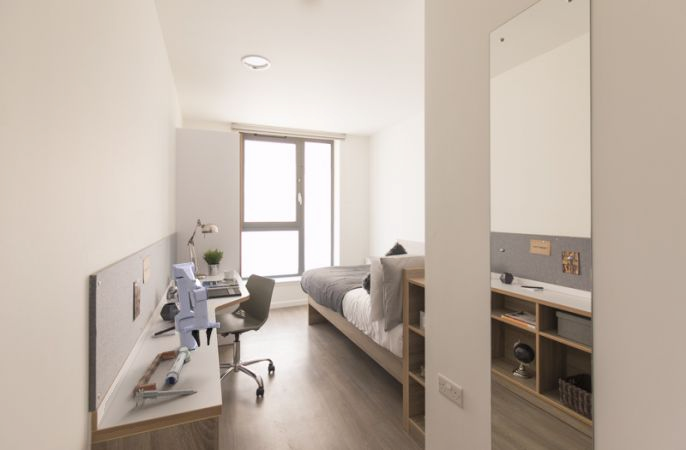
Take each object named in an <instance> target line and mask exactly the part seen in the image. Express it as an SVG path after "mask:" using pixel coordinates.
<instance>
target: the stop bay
mask: <svg viewBox="0 0 686 450" xmlns="http://www.w3.org/2000/svg"><path fill="white" fill-rule="evenodd" d="M176 356H177V354H176V350H175V349H174V350H166V351H162V352H161V353H157V355H156V356H155V357H154V358H153V360H152V361H151V363H150V365H149V366H148V367H147V369H146V370H145V371H144V374H143V375H142V376H141V378H140V379H139V381H137V383H136V385H135V386H134V387H133V396H135V397H136V393H137V392H138V391H139V389H140V391H141V390H142V389H143V393H144V391H156V390H158V389H157V382H152V383H149V381H150V380H151V378H152V376H153V375H154V374H155V372H156V370H158V367H159V365H160V364H161V362H162V361H163V360H168V359H173V358H174V359H175V358H176ZM140 393H141V392H140Z"/></svg>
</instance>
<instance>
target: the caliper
mask: <svg viewBox="0 0 686 450" xmlns="http://www.w3.org/2000/svg"><path fill="white" fill-rule="evenodd" d="M140 392H141V393H140ZM197 392H198V390H197V389H194V388H191V389H190V388H188V389H174V390H173V389H172V390H162V391H161V390H158V389H157V390H156V391H144V393H143V389H142V390H141V391H140V389H139V391H138V392H137V393H136V395H135V398H134V401H135V402H134V403H135V406H136V407H138V406H139V401H140V399H141V406H144V404H145V403H146V401H147V399H150V400H157V399H158V397H168V396H169V397H171V396H179V395H180V396H181V395H182V396H183V395H190V394H194V393H197Z"/></svg>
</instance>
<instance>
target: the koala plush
mask: <svg viewBox="0 0 686 450" xmlns="http://www.w3.org/2000/svg"><path fill="white" fill-rule="evenodd" d="M188 294H189V303H190V310H191V311H193V312H194V310H193V306H192V301H191V297H190V292H189V290H188ZM174 298H175V299H174V300H175V301H176V302H177V303H178V304H179V296H178V292H176V293H174ZM179 312H180V309H173V310H172V316H173V315H174V317H173V319H174V320H175V316H176V315H177V314H178V313H179Z"/></svg>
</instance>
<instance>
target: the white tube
mask: <svg viewBox="0 0 686 450" xmlns="http://www.w3.org/2000/svg"><path fill="white" fill-rule="evenodd" d="M178 350H179V349H178ZM190 360H191V351H190V350H188V349H187V347H182V348H181V349H180V350H179V351H178V355H177V357H176V360H175V361H174V363H173V365H172V366H171V368H170V371H169V372H167V374H166V378H165V381H164V382H165V385H167V386H173V385H175V384H176V382H177V381H178V379H179V378H180V372H181V370H182V367H183V364H185V363H188V361H190Z"/></svg>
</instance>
